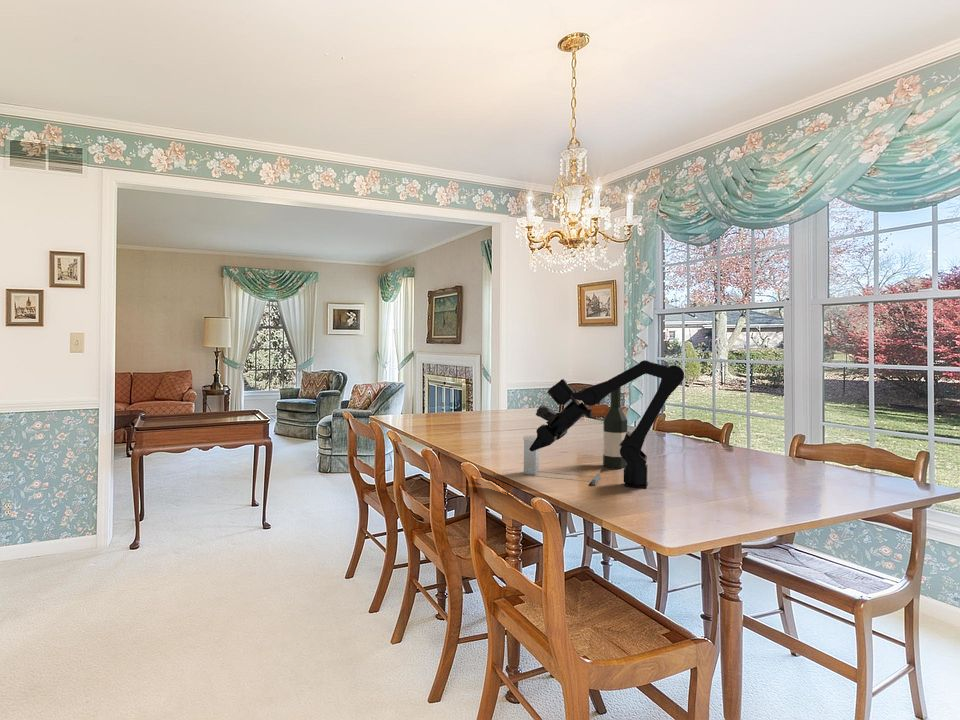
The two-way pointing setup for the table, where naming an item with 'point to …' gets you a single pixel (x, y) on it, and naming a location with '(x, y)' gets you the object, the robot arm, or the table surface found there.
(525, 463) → the post
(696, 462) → the table surface
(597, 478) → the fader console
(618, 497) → the table surface
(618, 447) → the wine bottle
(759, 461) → the table surface
